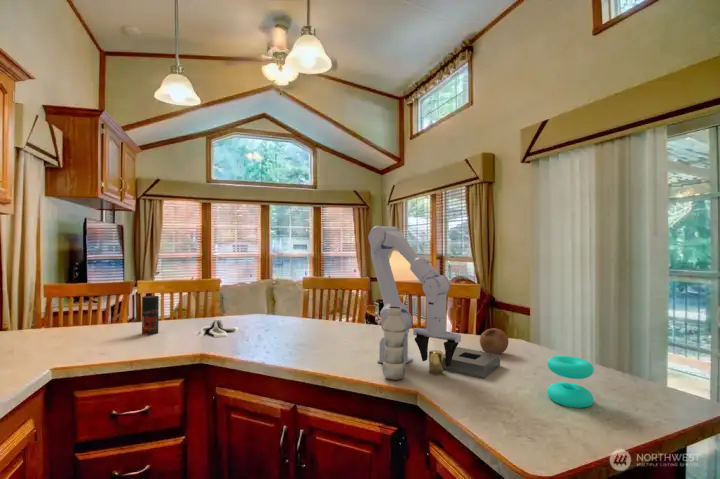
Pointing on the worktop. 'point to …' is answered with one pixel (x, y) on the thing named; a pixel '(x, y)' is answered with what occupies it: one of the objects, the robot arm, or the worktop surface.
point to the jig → (473, 362)
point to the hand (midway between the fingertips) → (436, 362)
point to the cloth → (216, 329)
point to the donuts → (568, 391)
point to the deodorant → (150, 315)
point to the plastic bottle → (394, 345)
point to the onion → (494, 341)
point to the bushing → (436, 362)
